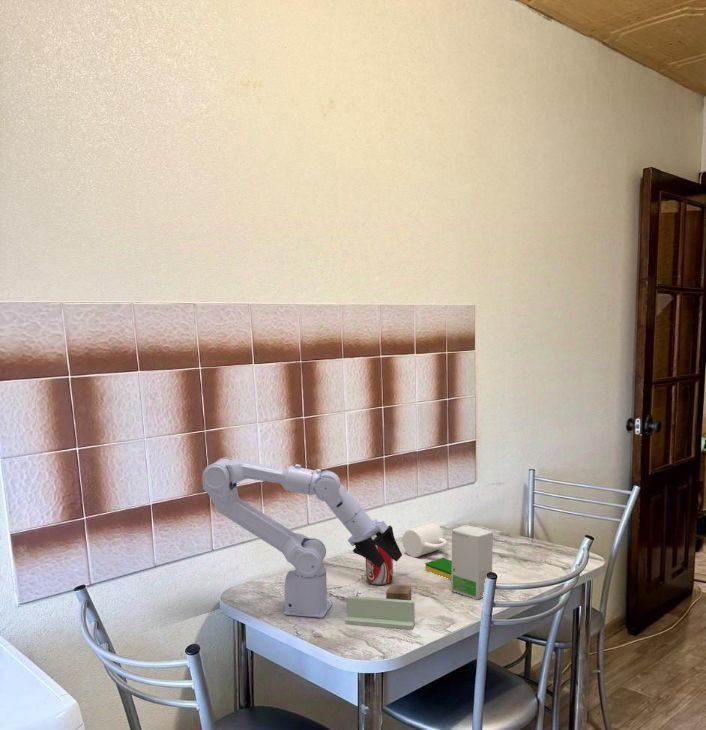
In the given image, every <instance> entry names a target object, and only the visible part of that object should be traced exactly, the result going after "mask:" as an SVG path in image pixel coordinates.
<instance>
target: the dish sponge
mask: <svg viewBox="0 0 706 730" xmlns="http://www.w3.org/2000/svg"><path fill="white" fill-rule="evenodd" d="M424 565H425V567H424V568H425V569H424V571H426V572H428V571H429V573H431V572H432V573H431V574H433V573H434V575H436V574H437V575H436V576H439V575H440V576H439V577H441V576H443V577H442V578H444V577H446V578H448V579H447V580H449V579H451V576H452V575H451V574H452V559H451V560H450V559H447V558H445V557H442V558H438V559H435V560H434V559H433V560H431V561H427V562H425V564H424ZM446 578H445V579H446Z"/></svg>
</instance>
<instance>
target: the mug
mask: <svg viewBox="0 0 706 730" xmlns="http://www.w3.org/2000/svg"><path fill="white" fill-rule="evenodd" d="M447 546H448V541H447V540H446V539H445V535H444V531H443V529H442V528H441V527H440V526H439V524H436V523H433V522H430V523H427V524H424V525H420V526H417V527H413V528H411V529H408V530H406V531H404V533H403V535H402V547H403V549H404V551H405V552H406V553H407V555H408V556H410V557H412V558H418V557H422V556H424V555H427V554H430V553H433V552H436V551H439V550H441V549H445V548H446V547H447Z"/></svg>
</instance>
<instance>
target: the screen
mask: <svg viewBox="0 0 706 730" xmlns="http://www.w3.org/2000/svg"><path fill="white" fill-rule="evenodd" d="M346 613H347V614H346V618H345V619H344V624H345V625H355V626H364V627H365V626H366V627H377V628H391V629H400V630H401V629H402V630H414V626H415V623H416V622H415V621H416V619H415V618H416V617H415V600H412V599H411V600H397V599H386V598H382V597H381V598H380V597H369V596H367V597H366V596H357V595H355V596H354V595H348V596H347V597H346Z"/></svg>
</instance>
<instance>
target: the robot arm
mask: <svg viewBox="0 0 706 730" xmlns="http://www.w3.org/2000/svg"><path fill="white" fill-rule="evenodd" d="M201 476H202V477H201V479H202V488H203V491H204V492H205V493H207V494H208V496H209V498H210V500H211V501H212V504H213V505H214V507H215V509H216V511H217V512H218V513H219V514H220V515H222V516H224V517H226V518H227V519H228V520H230V521H232V522H233V523H235V524H237V525H238V526H240V527H241V528H243V529H244V530H246V531H248V532H249V533H250V534H252V535H253V536H255V537H257V538H258V539H260V540H262V541H263V542H266V543H267V544H268V545H270V546H271V547H273V548H274V549H276V550H277V551H279V552H281V553H282V554H283V556H284V558H285V559H286V561H287V562H288V563H289V564H291V566H293V567H294V568H295V570H289V571H288V572H287V573H286V576H285V580H284V612H283V615H287V616H298V617H299V616H300V617H309V618H324V617H325V616H326V614H327V613H328V612H329V611H330V608H331V607H332V605H333V602H331V601H328V600H327V598H328V595H327V594H328V592H327V591H328V590H327V587H328V586H327V568H326V566H325V565H324V563H323V561H324V560H325V558H326V555H327V548H326V546H325V544H324V543H323V541H322V540H320V539H318V538H314V537H309V536H307V535H305V534H303V533H297V532H294V531H292V530H291V529H289V528H288V527H286V526H284V525H283V524H281V523H280V522H278V521H277V520H275V519H274V518H272V517H270V516H269V515H267V514H266V513H264V512H263V511H261V510H260V509H257V508H256V507H254V506H253V505H251V504H250V503H248V502H246V501H245V500H243V499H241V498H240V496H239V491H238V490H239V489H238V484H237V483H240V482H241V481H243V480H244V481H245V480H247V479H248V480H249V479H250V480H255V481H261V482H262V481H263V482H268V483H274V484H275V483H276V484H280V485H281V486H282V488H283V489H284V490H285V491H288V492H293V493H299V494H303V495H308V496H313V495H315V498H316V499H318V500H320V501H321V502H324V503H325V504H327V506H328V507H329V508H330V510H331V512H332V513H333V514H334V516H335V517H337V519H338V520H339V521H340V522H341V524H343V526H344V527H345V528H346V530H347V531H348V532H349V534H351V536H350V537H349V538H348V539H347V541H348V543H349V544H350V546H352V547H354V548H353V549H352V552H353V554H355V555H358V556H361V557H363V558H364V559H365V560H366V559H368V560H369V561H370V562H372V563H373V564H374V565H376V566H377V567H381V566H382V564H383V563H384V562H385V560H384V558H383V557H382V555H381V554H380V552H379V551H378V550H377V548H376V546H375V545H377V546H378V547H380V548H381V549H383V550H384V551H385V552H386V553H387V554H388V555H389V556H390V557H391V558H392V559H393V561H394V562H397V561H399V560H400V559H401V558H402V556H403V554H402V551H401V550H400V547H399V545H398V543H397V540H396V538H395V534H394V530H393V527H392V525H387V523H386V522H385V521H384V520H381V521H378V519H377V518H375V519H373V520H372V518H371V517H370V516H369V515H368V514H367V512H366V511H365V510H364V508H363V507H362V506H361V505H360V504H359V503H358V502H357V500H356V499H355V498H354V497H353V496H352V494H351V493H350V492H349V491H348V490H347V488H345V487H344V485H342V484H341V479H340V477H339V476H338V474H336V473H335V472H333V471H331V470H327V469H326V470H324V471H322V469H320V468H319V469H318V468H317V469H316V470H313V469H308V468H303V467H302V464H297V463H296V464H295V465H289V466H288V467H286V468H285V469H281V468H278V467H275V466H274V467H273V466H270V465H266V464H262V463H259V462H253V461H249V460H245V459H242V458H233V459H232V458H231V457H221V458H219V459H217V460H216V461H215V462H213V463H211V464H209V465H207V466H206V467H205V468H204V470H203V472H202V475H201ZM375 535H376V536H377V537H376V538H375V539H374V540H372V536H375Z"/></svg>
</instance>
